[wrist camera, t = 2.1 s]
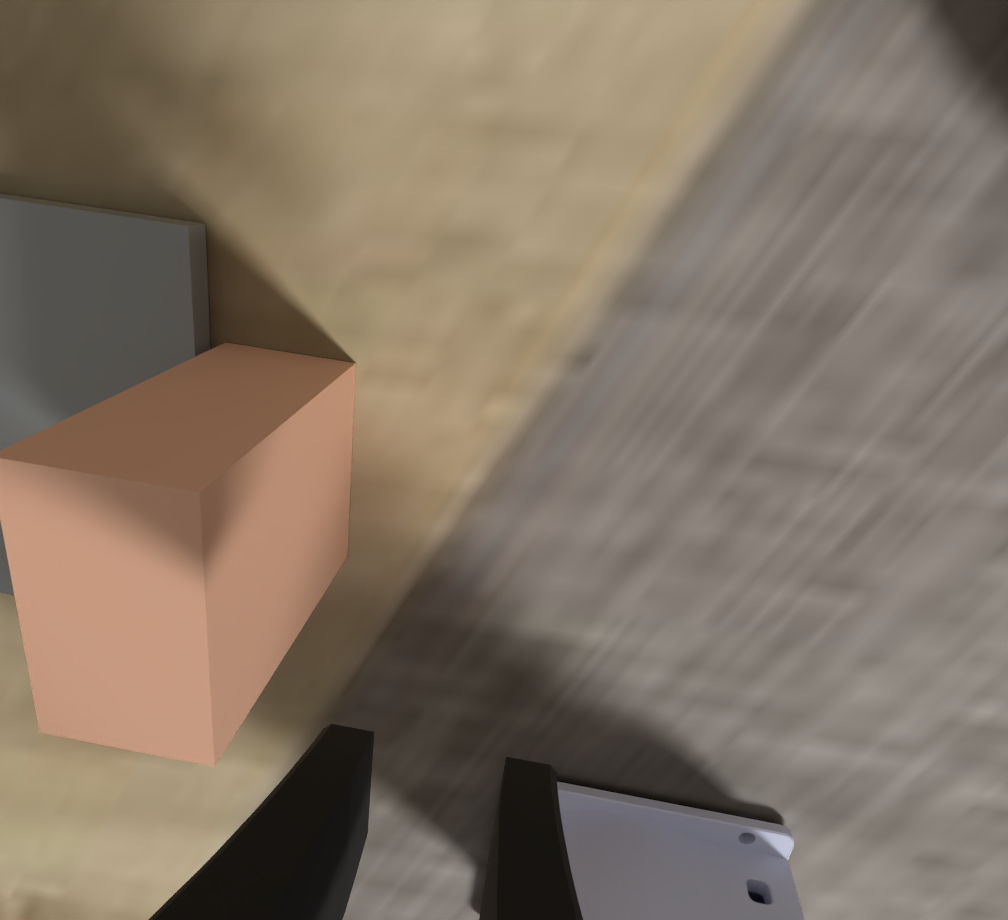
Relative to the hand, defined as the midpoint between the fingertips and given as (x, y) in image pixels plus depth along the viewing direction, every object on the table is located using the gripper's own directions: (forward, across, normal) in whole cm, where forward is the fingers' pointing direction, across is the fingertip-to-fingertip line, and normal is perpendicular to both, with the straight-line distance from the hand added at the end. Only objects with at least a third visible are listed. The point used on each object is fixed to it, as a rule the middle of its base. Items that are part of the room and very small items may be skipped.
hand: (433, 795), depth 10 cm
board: (+10, +13, 0) cm, 16 cm away
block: (+10, +6, 0) cm, 12 cm away
